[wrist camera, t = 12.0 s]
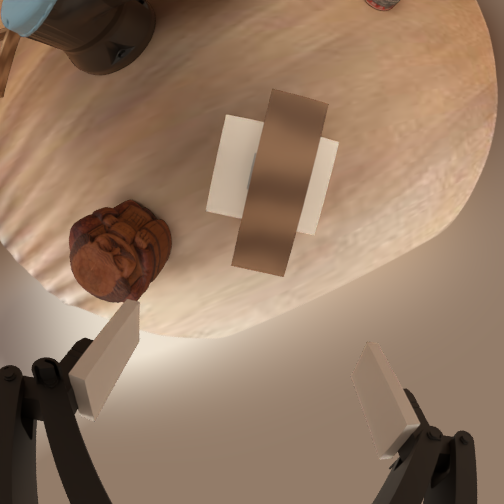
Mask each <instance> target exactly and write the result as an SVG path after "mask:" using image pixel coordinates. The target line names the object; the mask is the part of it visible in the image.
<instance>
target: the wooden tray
mask: <svg viewBox="0 0 504 504" xmlns="http://www.w3.org/2000/svg"><path fill="white" fill-rule="evenodd" d="M3 39H4V40H3ZM19 39H20V35H19V34H18V33H16V32H14V31H11V30H9V29H7V28H3V29H0V40H3V43H2V46H1V49H0V97H3V96H4V91H5V87H6V83H7V79H8V75H9V71H10V67H11V64H12V61H13V57H14V54H15V51H16V48H17V45H18V42H19Z"/></svg>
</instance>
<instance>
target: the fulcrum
mask: <svg viewBox="0 0 504 504" xmlns="http://www.w3.org/2000/svg"><path fill="white" fill-rule="evenodd" d="M263 125H264V122H261V121H256V120H252V119H247V118H242V117H237V116H232V115H226V118H225V122H224V127H223V131H222V135H221V140H220V144H219V149H218V153H217V158H216V163H215V167H214V172H213V177H212V182H211V186H210V191H209V196H208V202H207V207H206V211H207V212H212V213H217V214H221V215H226V216H230V217H235V218H240V219H242V215H243V211H244V206H245V202H246V197H247V193H248V189H249V184H250V180H251V176H252V171H253V167H254V163H255V158H256V154H257V150H258V146H259V142H260V137H261V133H262V129H263ZM338 145H339V142H336V141H333V140H330V139H326V138H323V137H321V138H320V142H319V146H318V150H317V154H316V158H315V163H314V166H313V170H312V174H311V178H310V182H309V186H308V190H307V194H306V198H305V201H304V205H303V209H302V213H301V216H300V220H299V224H298V227H297V231H296V232H301V233H305V234H309V235H313V236H314V235H315V232H316V228H317V225H318V221H319V218H320V214H321V210H322V207H323V203H324V199H325V196H326V192H327V188H328V184H329V181H330V177H331V173H332V169H333V165H334V161H335V157H336V153H337V149H338Z"/></svg>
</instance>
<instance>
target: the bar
mask: <svg viewBox="0 0 504 504" xmlns="http://www.w3.org/2000/svg"><path fill="white" fill-rule="evenodd" d="M327 108H328V104H327V103H324V102H320V101H317V100H314V99H310V98H306V97H303V96H299V95H295V94H291V93H287V92H283V91H279V90H275V89H272V92H271V96H270V100H269V104H268V108H267V112H266V116H265V121H264V125H263V129H262V133H261V137H260V142H259V146H258V150H257V154H256V158H255V163H254V167H253V171H252V176H251V180H250V184H249V189H248V193H247V197H246V202H245V206H244V211H243V215H242V220H241V224H240V228H239V233H238V237H237V242H236V246H235V251H234V256H233V260H232V265H231V266H236V267H240V268H245V269H249V270H254V271H259V272H263V273H268V274H273V275H277V276H282V277H284V274H285V270H286V267H287V263H288V260H289V256H290V253H291V249H292V246H293V242H294V238H295V235H296V231H297V227H298V224H299V220H300V216H301V213H302V209H303V205H304V201H305V198H306V194H307V190H308V186H309V182H310V178H311V174H312V170H313V166H314V163H315V158H316V154H317V150H318V146H319V142H320V138H321V134H322V130H323V125H324V121H325V117H326V113H327Z"/></svg>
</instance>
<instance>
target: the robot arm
mask: <svg viewBox="0 0 504 504" xmlns="http://www.w3.org/2000/svg"><path fill="white" fill-rule="evenodd" d="M1 19H2V22H3V25H4V26H5V27H6V28H7V29H9V30H11V31H14V32H16V33H18V34H19V35H20V36H21V37H26V38H29V39H32V40H35V41H38V42H41V43H44V44H47V45H50V46H53V47H55V48H58V49H61V50H63V51H64V52H65V53H66V54H67V56H68V57H69V58H70V59H71V61H72V63H73V64H74V65H75V66H76V67H77V68H79V69H80V70H82V71H85V72H87V73H90V74H94V75H104V74H109V73H112V72H115V71H118V70H120V69H122V68H123V67H125V66H127V65H128V64H130V63H131V62H132V61H133V60H135V59H136V58H137V57H138V56H139V55H140V54H141V53H142V51H143V50H144V49H145V48H146V46H147V45H148V43H149V41H150V39H151V37H152V35H153V32H154V28H155V14H154V11H153V9H152V7H151V6H150V5H149V4H148V2H147V1H146V0H3V3H2V8H1ZM139 307H140V302H137V301H133V300H129V299H127V300H126V301H125V302H124V303H123V305H122V306H121V307H120V308H119V309H118V311H117V312H116V313H115V314H114V316H113V317H112V318H111V319H110V321H109V322H108V323H107V324H106V326H105V327H104V328H103V330H102V331H101V332H100V333H99V334H98V336H97V337H96V338H95V340H94V341H93V340H90V339H88V338H83V339H81V340H79V341H77V342H76V343H75V344H74V346H73V347H72V348H71V350H70V351H69V352H68V353H67V355H65V357H64V358H63V359H62V360H61V362H60V363H58V362H57V361H56V360H55V359H52V358H40V359H38V360H36V361H35V362H34V363H33V365H32V373H33V376H34V377H27V376H23V375H22V372H21V370H20V369H19V368H17V367H16V366H12V365H8V366H5V367H2V368H1V369H0V504H38V496H37V481H36V427H37V420H40V421H44V425H45V429H46V433H47V437H48V440H49V443H50V448H51V450H52V454H53V457H54V461H55V464H56V467H57V470H58V473H59V476H60V478H61V481H62V484H63V486H64V489H65V491H66V494H67V497H68V499H69V501H70V504H112V502H111V500H110V499H109V497H108V495H107V493H106V491H105V489H104V487H103V485H102V483H101V480H100V478H99V476H98V474H97V472H96V470H95V467H94V465H93V463H92V460H91V458H90V456H89V453H88V451H87V449H86V446H85V443H84V441H83V438H82V435H81V433H80V430H79V427H78V424H77V421H76V418H75V415H74V414H75V413H76V411H77V409H78V410H79V413H80V416H82V417H84V418H87V419H89V420H92V421H94V422H95V421H96V419H97V417H98V415H99V413H100V411H101V409H102V408H103V406H104V404H105V402H106V400H107V398H108V396H109V394H110V393H111V391H112V389H113V387H114V385H115V383H116V382H117V380H118V378H119V376H120V374H121V373H122V371H123V369H124V367H125V366H126V364H127V362H128V360H129V358H130V357H131V355H132V353H133V351H134V350H135V348H136V346H137V344H138V342H139ZM351 379H352V382H353V385H354V388H355V390H356V393H357V396H358V399H359V402H360V405H361V407H362V410H363V413H364V416H365V419H366V422H367V425H368V428H369V431H370V433H371V437H372V440H373V443H374V446H375V449H376V452H377V455H378V459H379V460H380V459H389V458H392V457H393V456H394V455H395V454H396V453H397V452H398V453H399V456H400V457H399V458H398V459H397V460H396V461H395V462H394V463H393V464H392V465H391V466H390V468H389V469H391V468H392V467H393V468H392V470H391V472H390V474H389V475H388V478H387V479H386V481H385V483H384V485H383V486H382V488H381V490H380V491H379V493H378V495H377V497H376V498H375V500H374V501H373V503H372V504H421V503H422V500H423V498H424V501H423V504H477V473H476V459H475V447H474V440H473V437H472V436H471V435H470V434H469V433H468V432H466V431H458V432H457V433H456V434H455V435H454V437H450V436H443V434H442V432H441V431H440V430H439V429H438V428H436V427H433V426H429V424H428V422H427V420H426V418H425V416H424V414H423V412H422V410H421V409H420V408H419V405H418V403H417V401H416V399H415V397H414V395H413V394H412V393H411V392H410V391H409V390H408V389H403V388H402V386H401V385H400V383H399V381H398V379H397V377H396V375H395V373H394V371H393V370H392V368H391V366H390V364H389V362H388V361H387V359H386V357H385V355H384V353H383V351H382V349H381V348H380V346H379V344H378V343H374V342H367V343H366V345H365V347H364V349H363V351H362V354H361V356H360V358H359V360H358V362H357V364H356V366H355V368H354V370H353V372H352V374H351Z"/></svg>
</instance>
